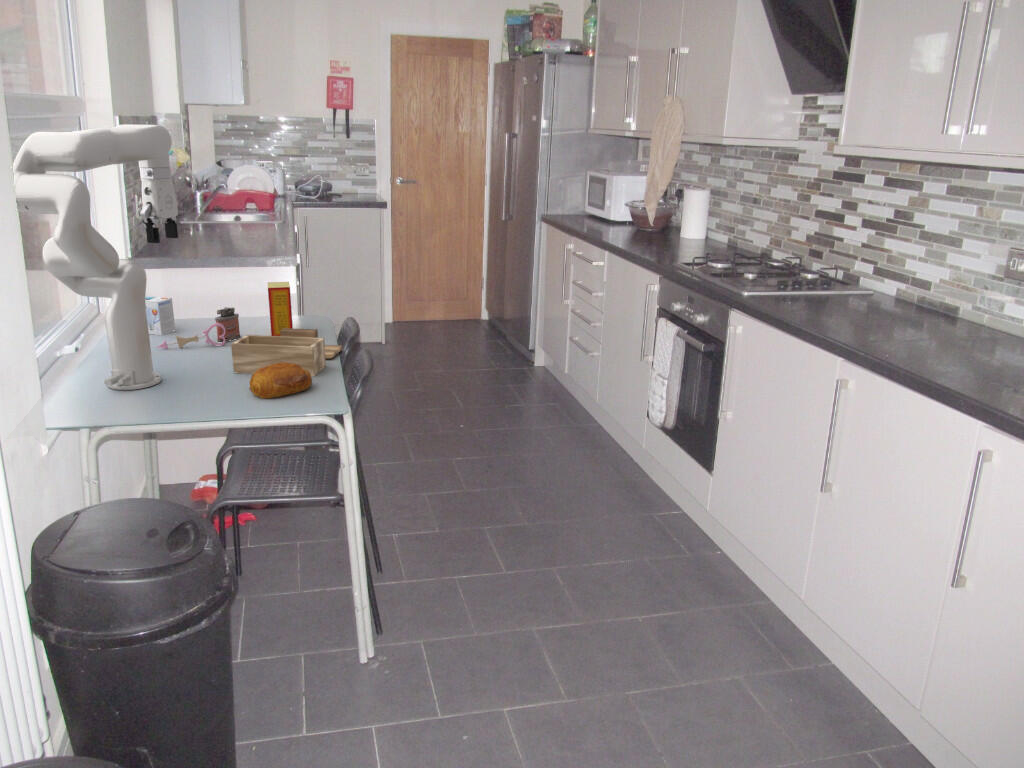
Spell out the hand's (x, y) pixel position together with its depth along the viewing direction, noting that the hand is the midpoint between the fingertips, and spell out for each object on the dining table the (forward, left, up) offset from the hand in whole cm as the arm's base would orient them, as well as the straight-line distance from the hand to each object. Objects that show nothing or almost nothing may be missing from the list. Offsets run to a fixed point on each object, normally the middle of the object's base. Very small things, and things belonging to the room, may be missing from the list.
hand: (163, 240), depth 219 cm
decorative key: (+13, +2, -34) cm, 36 cm away
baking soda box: (+33, -18, -34) cm, 50 cm away
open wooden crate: (-5, -32, -33) cm, 46 cm away
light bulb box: (+29, +22, -34) cm, 50 cm away
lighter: (+23, -5, -34) cm, 41 cm away
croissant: (-22, -38, -34) cm, 55 cm away
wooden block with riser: (+11, -32, -33) cm, 47 cm away
